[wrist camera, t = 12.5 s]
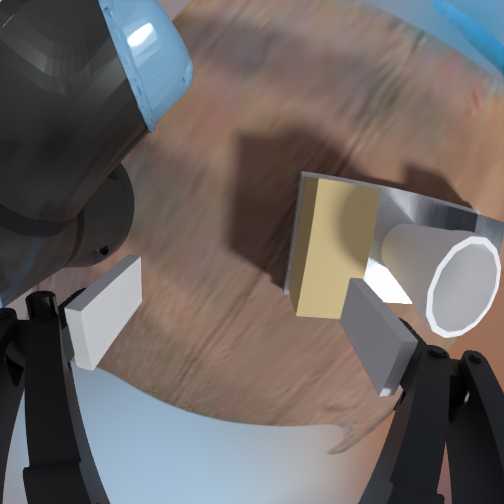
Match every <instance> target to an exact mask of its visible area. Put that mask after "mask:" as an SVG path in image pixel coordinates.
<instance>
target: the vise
mask: <svg viewBox="0 0 504 504" xmlns="http://www.w3.org/2000/svg"><path fill="white" fill-rule="evenodd" d="M306 176H307V177H314V178H321V179H327V180H333V181H339V182H344V183H350V184H355V185H361V186H366V187H371V188H376V189H380V190H381V193H380V200H379V206H378V212H377V218H376V223H375V229H374V234H373V239H372V244H371V249H370V253H369V258H368V263H367V267H366V271H365V276H364V281H365V282H366V283H367V284H368V285H369V286H370V287H371V288H372V290H373V291H374V292H375V293H376V294H377V295H378V296H379V297H380V298H381V299H382V300H383V302H397V303H412V302H411V301H410V299H409V298H408V297H407V295H406V294H405V292H404V291H403V290H402V288H401V287H400V286H399V284H398V283H397V282H396V280H395V279H394V278H393V276H392V275H391V274H390V272H389V271H388V269H387V268H386V266H385V264H384V262H383V261H382V253H381V247H382V244H383V241H384V238H385V236H386V235H387V234H388V233H389V232H390V230H391V229H392V228H394V227H396V226H398V225H400V224H412V225H420V226H427V227H433V228H440V229H446V230H452V231H454V230H461V231H471V232H473V233H476V234H478V235H481V236H483V237H486V238H487V239H488V240H489V241H490V242H491V243H492V244H493V245H494V246H495V248H496V249H497V252H498V256H499V253H500V249H501V244H502V240H503V235H504V222H501V221H498V220H495V219H492V218H489V217H486V216H483V215H480V211H478V210H475V209H471V208H468V207H465V206H461V205H458V204H454V203H451V202H447V201H443V200H440V199H436V198H432V197H428V196H424V195H420V194H416V193H412V192H408V191H404V190H400V189H395V188H391V187H386V186H382V185H377V184H372V183H367V182H362V181H357V180H352V179H347V178H341V177H336V176H330V175H324V174H318V173H312V172H305V171H300V172H299V180H298V188H297V195H296V203H295V210H294V217H293V224H292V231H291V238H290V244H289V251H288V258H287V264H286V270H285V277H284V283H283V293H284V294H286V295H290V294H289V287H290V281H291V275H292V269H293V263H294V257H295V250H296V244H297V238H298V231H299V224H300V217H301V210H302V203H303V196H304V189H305V181H306Z"/></svg>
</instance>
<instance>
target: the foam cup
mask: <svg viewBox="0 0 504 504" xmlns="http://www.w3.org/2000/svg"><path fill="white" fill-rule="evenodd" d="M381 253H382V261H383V262H384V264H385V266H386V268H387V269H388V271H389V272H390V274H391V275H392V276H393V278H394V279H395V280H396V282H397V283H398V284H399V286H400V287H401V288H402V290H403V291H404V292H405V294H406V295H407V297H408V298H409V299H410V301H411V302H412V304H413V305H414V307H415V308H416V310H417V312H418V315H419V317H420V319H421V320H422V321H423V322H424V323H425V324H426V325H427V326H428V327H429V328H430V329H431V330H432V331H433V332H435V333H437V334H439V335H441V336H442V337H444V338H448V337H454V336H461V335H462V334H464V333H465V332H467V331H468V330H470V329H471V328H473V327H474V326H475V325H477V324H478V322H479V321H480V320H481V319H482V317H483V316H484V315H485V314H486V312H487V311H488V310H489V308H490V306H491V304H492V302H493V299H494V297H495V295H496V292H497V290H498V286H499V279H500V271H501V265H500V261H499V256H498V252H497V249H496V248H495V246H494V245H493V244H492V243H491V242H490V241H489V240H488V239H487V238H486V237H483V236H481V235H478V234H476V233H473V232H471V231H461V230H454V231H452V230H446V229H440V228H433V227H427V226H420V225H412V224H400V225H398V226H396V227H394V228H392V229H391V230H390V232H389V233H388V234H387V235H386V236H385V238H384V241H383V244H382V247H381Z"/></svg>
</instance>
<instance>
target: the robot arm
mask: <svg viewBox="0 0 504 504" xmlns="http://www.w3.org/2000/svg"><path fill="white" fill-rule="evenodd" d="M192 78H193V66H192V62H191V59H190V56H189V53H188V51H187V48H186V46H185V44H184V42H183V40H182V38H181V36H180V35H179V33H178V31H177V30H176V28H175V26H174V25H173V23H172V21H171V20H170V19H169V17H168V15H167V14H166V13H165V11H164V10H163V8H162V7H161V5H160V4H159V3H158V1H157V0H0V504H2V502H3V489H4V480H5V472H6V465H7V458H8V453H9V448H10V443H11V437H12V433H13V429H14V424H15V420H16V416H17V412H18V409H19V405H20V401H21V398H22V394H23V391H24V388H25V423H26V435H27V446H28V455H29V464H30V465H29V467H26V468H24V469H23V481H24V487H25V492H26V497H27V501H28V504H110V502H109V499H108V497H107V495H106V492H105V490H104V488H103V485H102V482H101V479H100V477H99V474H98V471H97V468H96V466H95V462H94V459H93V456H92V453H91V450H90V447H89V443H88V440H87V436H86V433H85V429H84V425H83V421H82V417H81V413H80V409H79V404H78V400H77V395H76V390H75V384H74V379H73V373H72V367H71V364H70V360H71V359H72V358H73V356H75V360H76V364H77V367H81V368H84V369H87V370H91V371H93V370H94V368H95V367H96V365H97V364H98V363H99V361H100V360H101V358H102V357H103V355H104V354H105V352H106V351H107V349H108V348H109V347H110V345H111V344H112V342H113V341H114V340H115V338H116V337H117V335H118V334H119V332H120V331H121V330H122V328H123V327H124V326H125V324H126V323H127V321H128V320H129V319H130V317H131V316H132V315H133V313H134V312H135V310H136V309H137V308H138V306H139V305H140V304H141V302H142V289H141V256H132V255H128V256H126V257H125V258H124V259H123V260H121V261H120V262H119V263H118V264H116V265H115V266H114V267H112V268H111V269H110V270H109V271H108V272H106V273H105V274H104V275H103V276H101V277H100V278H99V279H98V280H96V281H95V282H94V283H93V284H92V285H90V286H89V287H88V288H83V289H81V290H78V291H76V292H75V293H74V294H72V295H71V296H70V297H69V298H68V299H66V301H64V302H63V303H62V304H60V305H59V306H58V307H57V301H56V296H55V294H54V293H53V292H51V291H37V292H34V293H31V294H30V295H28V296H27V297H26V299H25V300H26V305H27V310H28V314H29V318H30V319H29V320H18V319H17V315H16V311H15V310H14V309H12V308H4V307H5V306H7V305H8V304H9V303H11V302H12V301H14V300H15V299H17V298H18V297H19V296H21V295H22V294H23V293H25V292H27V291H28V290H30V289H31V288H33V287H34V286H36V285H37V284H39V283H40V282H42V281H43V280H45V279H46V278H48V277H49V276H51V275H52V274H54V273H56V272H57V271H59V270H60V269H62V268H65V267H87V266H92V265H95V264H97V263H99V262H101V261H103V260H105V259H106V258H108V257H109V256H111V255H112V254H113V253H114V252H116V251H117V250H118V249H119V247H120V246H121V245H122V244H123V242H124V241H125V239H126V237H127V235H128V233H129V231H130V228H131V224H132V220H133V214H134V196H133V190H132V186H131V182H130V179H129V177H128V174H127V172H126V170H125V169H124V167H123V165H122V164H121V163H120V162H121V161H122V160H123V158H124V157H125V156H126V155H127V154H128V153H129V152H130V151H131V150H132V149H133V148H134V147H135V146H136V145H137V143H138V142H139V141H140V140H141V139H142V138H143V137H144V136H145V135H146V134H147V133H148V132H150V133H151V132H152V131H154V129H155V128H156V123H157V122H158V121H159V120H160V119H161V118H162V117H163V116H164V115H165V113H166V112H167V111H168V110H169V109H170V108H171V107H172V106H173V105H174V104H175V103H176V102H177V101H178V100H179V99H180V98H181V97H182V96H183V95H184V94H185V93H186V92H187V90H188V88H189V86H190V84H191V81H192ZM340 323H341V324H342V326H343V328H344V330H345V332H346V334H347V336H348V337H349V339H350V341H351V343H352V345H353V347H354V349H355V351H356V352H357V354H358V356H359V358H360V360H361V362H362V364H363V366H364V368H365V370H366V372H367V374H368V376H369V378H370V380H371V382H372V383H373V385H374V387H375V389H376V391H377V393H378V395H379V396H390V395H394V394H395V392H396V390H397V388H398V386H399V384H400V385H401V387H402V388H403V392H402V394H401V396H400V398H399V400H398V401H397V403H396V405H395V407H394V409H393V410H396V411H395V415H394V418H393V421H392V424H391V427H390V430H389V433H388V435H387V438H386V441H385V444H384V447H383V449H382V451H381V454H380V457H379V459H378V462H377V464H376V467H375V469H374V471H373V473H372V476H371V478H370V480H369V482H368V485H367V487H366V489H365V491H364V493H363V495H362V497H361V499H360V501H359V503H358V504H444V499H445V498H444V496H443V495H442V494H437V487H438V483H439V478H440V473H441V467H442V461H443V455H444V448H445V441H446V446H447V453H448V461H449V469H450V479H451V493H452V504H504V393H503V391H502V389H501V387H500V385H499V383H498V381H497V379H496V377H495V375H494V373H493V371H492V369H491V367H490V365H489V363H488V361H487V360H486V358H485V357H484V356H483V355H482V354H481V353H479V352H477V351H472V350H467V351H465V352H464V353H463V355H462V358H461V360H457V359H450V357H449V354H448V353H447V352H446V351H445V350H444V349H442V348H440V347H438V346H434V345H427V344H426V343H425V342H424V341H423V339H422V338H421V337H420V336H419V335H418V334H416V332H415V330H414V329H413V328H412V327H411V326H410V325H409V324H408V323H407V322H406V321H404V320H403V319H401V318H398V317H397V316H396V315H395V314H394V313H393V312H392V310H391V309H390V308H389V307H388V306H387V305H386V304H385V303H384V302H383V300H382V299H381V298H380V297H379V296H378V295H377V294H376V293H375V292H374V291H373V290H372V288H371V287H370V286H369V285H368V284H367V283H366V282H365V281H364V280H363V279H362V278H350V280H349V285H348V289H347V293H346V297H345V301H344V305H343V309H342V313H341V317H340ZM467 399H468V401H467Z"/></svg>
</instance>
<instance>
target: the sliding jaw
mask: <svg viewBox="0 0 504 504" xmlns="http://www.w3.org/2000/svg"><path fill="white" fill-rule="evenodd" d="M380 193H381V190H380V189H376V188H371V187H366V186H361V185H355V184H350V183H344V182H339V181H333V180H327V179H321V178H314V177H307V176H306V181H305V189H304V196H303V203H302V210H301V217H300V224H299V231H298V238H297V244H296V250H295V257H294V263H293V269H292V275H291V281H290V287H289V294H290V297H291V300H292V304H293V307H294V311H295V314H296V316H305V317H319V318H336V319H340V317H341V313H342V309H343V305H344V301H345V297H346V293H347V289H348V285H349V280H350V278H362V279H363V280H364V276H365V271H366V267H367V263H368V258H369V253H370V249H371V244H372V239H373V234H374V229H375V223H376V218H377V212H378V206H379V200H380Z"/></svg>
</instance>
